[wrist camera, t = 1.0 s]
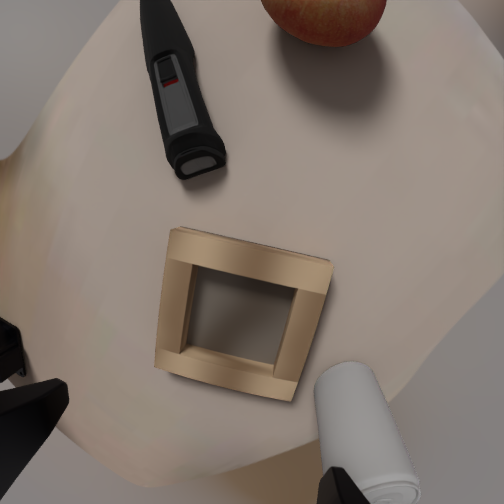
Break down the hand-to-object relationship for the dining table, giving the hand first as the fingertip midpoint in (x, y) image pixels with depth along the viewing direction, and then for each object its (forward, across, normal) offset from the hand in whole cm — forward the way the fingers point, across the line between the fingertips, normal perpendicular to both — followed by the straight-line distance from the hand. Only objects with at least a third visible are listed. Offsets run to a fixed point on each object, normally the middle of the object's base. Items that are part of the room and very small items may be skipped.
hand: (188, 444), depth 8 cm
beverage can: (+13, -9, +4) cm, 17 cm away
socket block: (+13, 0, +1) cm, 13 cm away
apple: (+13, 0, -21) cm, 25 cm away
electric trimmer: (+14, +9, -14) cm, 21 cm away
